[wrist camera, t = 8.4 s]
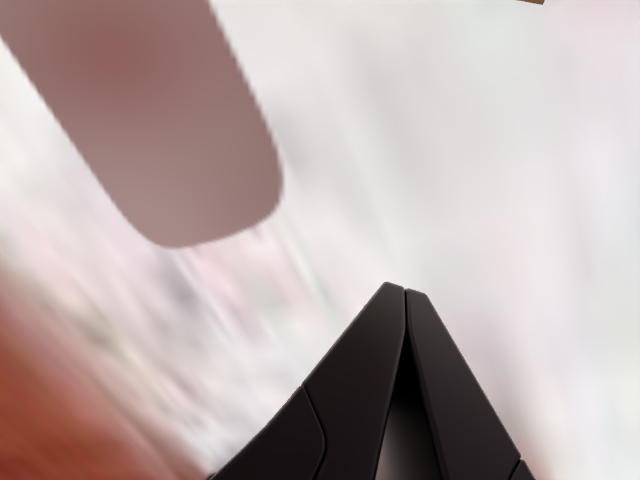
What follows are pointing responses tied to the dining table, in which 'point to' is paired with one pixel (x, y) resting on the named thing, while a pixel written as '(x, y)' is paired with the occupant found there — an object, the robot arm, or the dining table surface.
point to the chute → (534, 1)
